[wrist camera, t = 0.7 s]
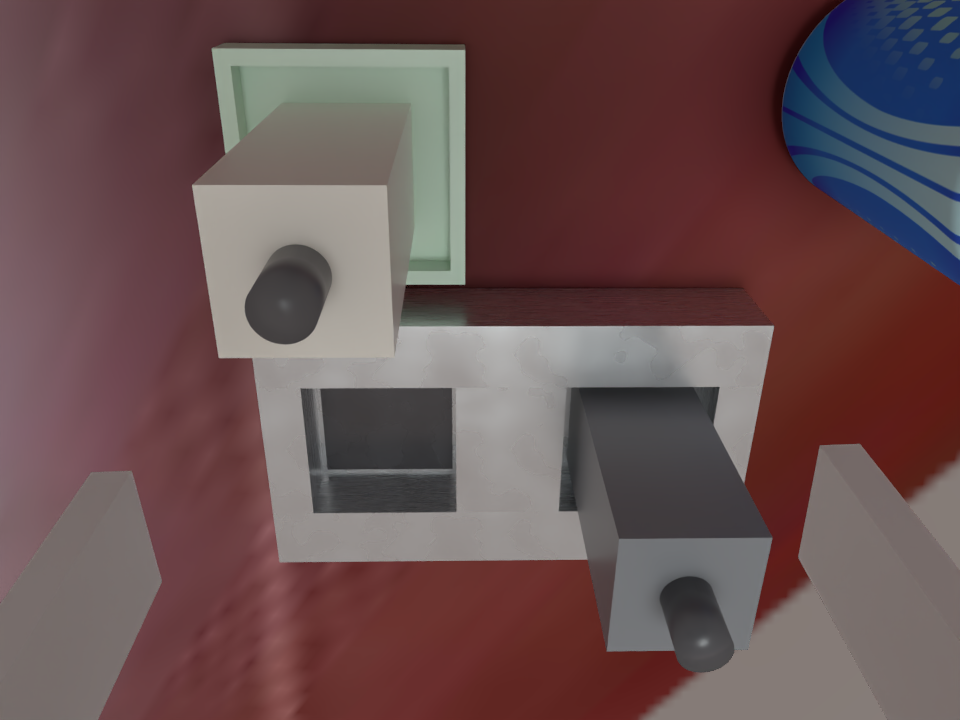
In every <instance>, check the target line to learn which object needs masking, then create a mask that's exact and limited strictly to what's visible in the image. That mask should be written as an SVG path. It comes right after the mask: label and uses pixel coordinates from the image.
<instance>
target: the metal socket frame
mask: <svg viewBox="0 0 960 720" xmlns="http://www.w3.org/2000/svg"><path fill="white" fill-rule="evenodd" d="M773 329H774V325H773V324H772V323H771V321H770V320H769V319H768V318H767V316H766V315H765V314H764V313H763V312H762V310H761V309H760V308H759V307H758V305H757V304H756V303H755V302H754V301H753V299H752V298H751V297H750V296H749V295H748V293H747V292H746V291H745V290H744V288H405V293H404V300H403V306H402V313H401V319H400V326H399V332H398V338H397V345H396V351H395V358H252V360H253V367H254V375H255V382H256V389H257V397H258V404H259V412H260V419H261V427H262V434H263V442H264V449H265V457H266V464H267V472H268V479H269V487H270V494H271V501H272V509H273V516H274V524H275V531H276V539H277V546H278V554H279V561H280V562H356V561H469V560H581V559H587V554H586V549H585V544H584V539H583V535H582V530H581V525H580V520H579V515H578V511H577V506H576V501H575V496H574V491H573V487H572V482H571V477H570V472H569V467H568V463H567V445H568V431H569V416H570V402H571V387H693V388H694V389H695V391H696V393H697V395H698V397H699V399H700V401H701V403H702V405H703V407H704V408H705V410H706V412H707V414H708V416H709V418H710V420H711V422H712V424H713V426H714V427H715V429H716V431H717V433H718V435H719V437H720V439H721V441H722V443H723V445H724V446H725V448H726V450H727V452H728V454H729V456H730V458H731V460H732V462H733V464H734V465H735V467H736V469H737V471H738V473H739V475H740V477H741V479H742V481H743V483H744V481H745V476H746V471H747V465H748V460H749V455H750V450H751V444H752V439H753V434H754V429H755V423H756V418H757V413H758V408H759V403H760V397H761V392H762V387H763V382H764V376H765V371H766V366H767V361H768V355H769V350H770V345H771V340H772V335H773Z"/></svg>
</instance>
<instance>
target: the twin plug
mask: <svg viewBox="0 0 960 720" xmlns="http://www.w3.org/2000/svg"><path fill="white" fill-rule="evenodd" d="M567 463H568V467H569V472H570V477H571V482H572V487H573V491H574V496H575V501H576V506H577V511H578V515H579V520H580V525H581V530H582V535H583V539H584V544H585V549H586V554H587V559H588V563H589V568H590V573H591V578H592V583H593V587H594V592H595V597H596V602H597V607H598V611H599V616H600V621H601V626H602V631H603V635H604V640H605V645H606V650H607V651H674V650H675V653H676V656H677V660H678V662H679V663H680V665H681V666H683V667H684V668H685V669H687V670H690V671H693V672H710V671H714V670H716V669H719V668H721V667H722V666H724V665H725V664H726V663H728V662H729V660H730V659H731V658H732V656H733V654H734V650H748V647H749V643H750V638H751V634H752V629H753V624H754V620H755V615H756V611H757V606H758V602H759V597H760V592H761V588H762V583H763V579H764V574H765V570H766V565H767V560H768V556H769V551H770V547H771V542H772V536H771V534H770V532H769V530H768V528H767V526H766V524H765V523H764V521H763V519H762V517H761V515H760V513H759V511H758V509H757V507H756V505H755V504H754V502H753V500H752V498H751V496H750V494H749V492H748V490H747V488H746V486H745V485H744V483H743V481H742V479H741V477H740V475H739V473H738V471H737V469H736V467H735V465H734V464H733V462H732V460H731V458H730V456H729V454H728V452H727V450H726V448H725V446H724V445H723V443H722V441H721V439H720V437H719V435H718V433H717V431H716V429H715V427H714V426H713V424H712V422H711V420H710V418H709V416H708V414H707V412H706V410H705V408H704V407H703V405H702V403H701V401H700V399H699V397H698V395H697V393H696V391H695V389H694V388H693V387H571V402H570V416H569V431H568V445H567Z"/></svg>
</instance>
